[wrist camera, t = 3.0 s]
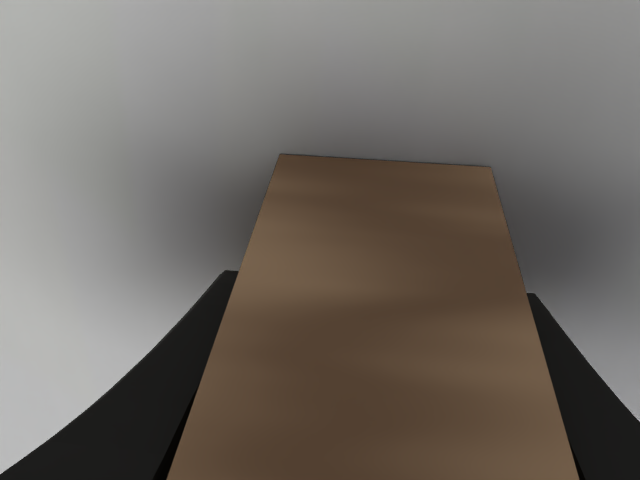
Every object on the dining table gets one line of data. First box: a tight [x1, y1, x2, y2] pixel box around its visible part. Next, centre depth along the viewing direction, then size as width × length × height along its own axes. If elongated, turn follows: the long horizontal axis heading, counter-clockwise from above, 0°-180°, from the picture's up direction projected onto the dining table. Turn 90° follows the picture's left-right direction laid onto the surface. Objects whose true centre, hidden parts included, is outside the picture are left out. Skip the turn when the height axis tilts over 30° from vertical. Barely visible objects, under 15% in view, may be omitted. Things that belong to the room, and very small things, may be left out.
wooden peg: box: [167, 154, 579, 480], centre depth 9 cm, size 4×4×8 cm
